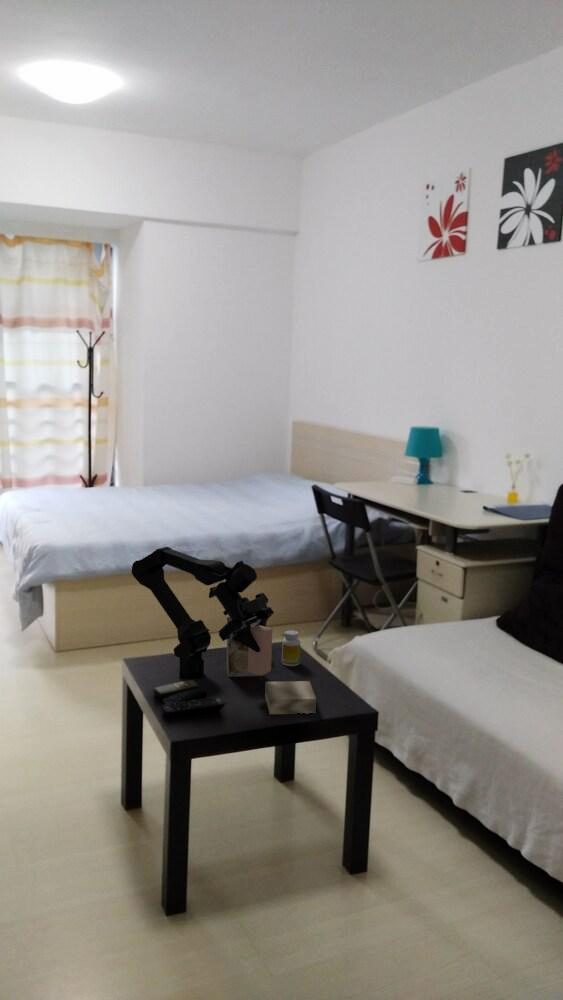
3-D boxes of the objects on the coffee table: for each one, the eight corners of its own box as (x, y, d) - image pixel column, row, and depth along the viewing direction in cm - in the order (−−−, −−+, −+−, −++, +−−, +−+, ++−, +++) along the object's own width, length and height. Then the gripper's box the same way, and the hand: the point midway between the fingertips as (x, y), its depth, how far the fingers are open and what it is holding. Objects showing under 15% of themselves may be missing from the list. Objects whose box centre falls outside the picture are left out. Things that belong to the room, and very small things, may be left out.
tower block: (261, 675, 230) (262, 632, 228) (247, 671, 233) (248, 629, 231) (271, 670, 234) (272, 628, 232) (257, 666, 236) (258, 625, 234)
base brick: (269, 714, 223) (270, 699, 222) (265, 695, 234) (265, 681, 234) (315, 713, 224) (316, 698, 223) (308, 695, 236) (309, 681, 235)
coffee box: (257, 668, 254) (258, 616, 251) (259, 676, 248) (260, 623, 245) (225, 669, 253) (226, 616, 250) (227, 677, 247) (228, 623, 244)
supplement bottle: (301, 666, 257) (302, 635, 255) (283, 667, 256) (284, 635, 254) (297, 659, 262) (298, 629, 261) (280, 660, 261) (281, 629, 259)
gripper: (228, 592, 224) (262, 642, 220) (269, 578, 239) (301, 624, 235) (204, 616, 229) (236, 665, 225) (245, 600, 245) (276, 645, 241)
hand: (264, 649), depth 231 cm, fingers closed on tower block, 4 cm apart
